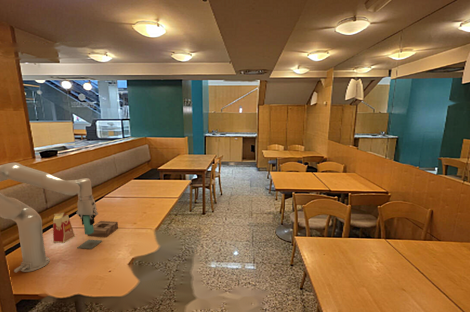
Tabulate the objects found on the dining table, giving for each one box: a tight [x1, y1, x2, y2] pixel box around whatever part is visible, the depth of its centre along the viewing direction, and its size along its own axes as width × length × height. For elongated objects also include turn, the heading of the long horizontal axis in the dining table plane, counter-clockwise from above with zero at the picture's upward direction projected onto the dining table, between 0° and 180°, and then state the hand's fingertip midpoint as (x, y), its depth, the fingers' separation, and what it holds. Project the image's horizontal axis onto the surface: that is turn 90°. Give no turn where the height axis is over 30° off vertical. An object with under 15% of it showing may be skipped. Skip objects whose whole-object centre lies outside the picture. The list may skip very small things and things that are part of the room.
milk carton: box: [52, 212, 76, 244], centre depth 152 cm, size 9×9×20 cm
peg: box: [83, 215, 94, 236], centre depth 145 cm, size 5×5×12 cm
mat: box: [76, 239, 103, 250], centre depth 147 cm, size 10×10×1 cm
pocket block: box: [87, 220, 119, 238], centre depth 164 cm, size 14×14×5 cm
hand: (88, 223), depth 145 cm, fingers closed on peg, 5 cm apart
